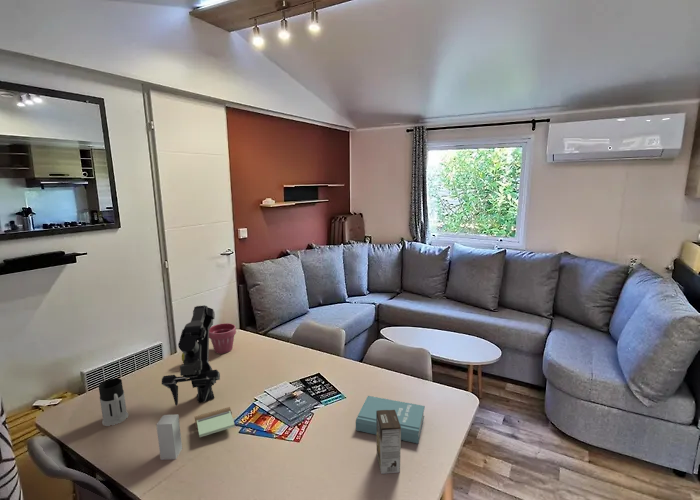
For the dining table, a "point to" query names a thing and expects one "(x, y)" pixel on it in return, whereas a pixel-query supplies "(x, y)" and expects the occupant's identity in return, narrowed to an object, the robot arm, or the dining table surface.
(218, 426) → the trapdoor
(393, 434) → the coffee box
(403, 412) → the book
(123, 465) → the dining table surface
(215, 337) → the plant pot
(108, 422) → the glass holder
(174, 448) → the block
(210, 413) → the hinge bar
